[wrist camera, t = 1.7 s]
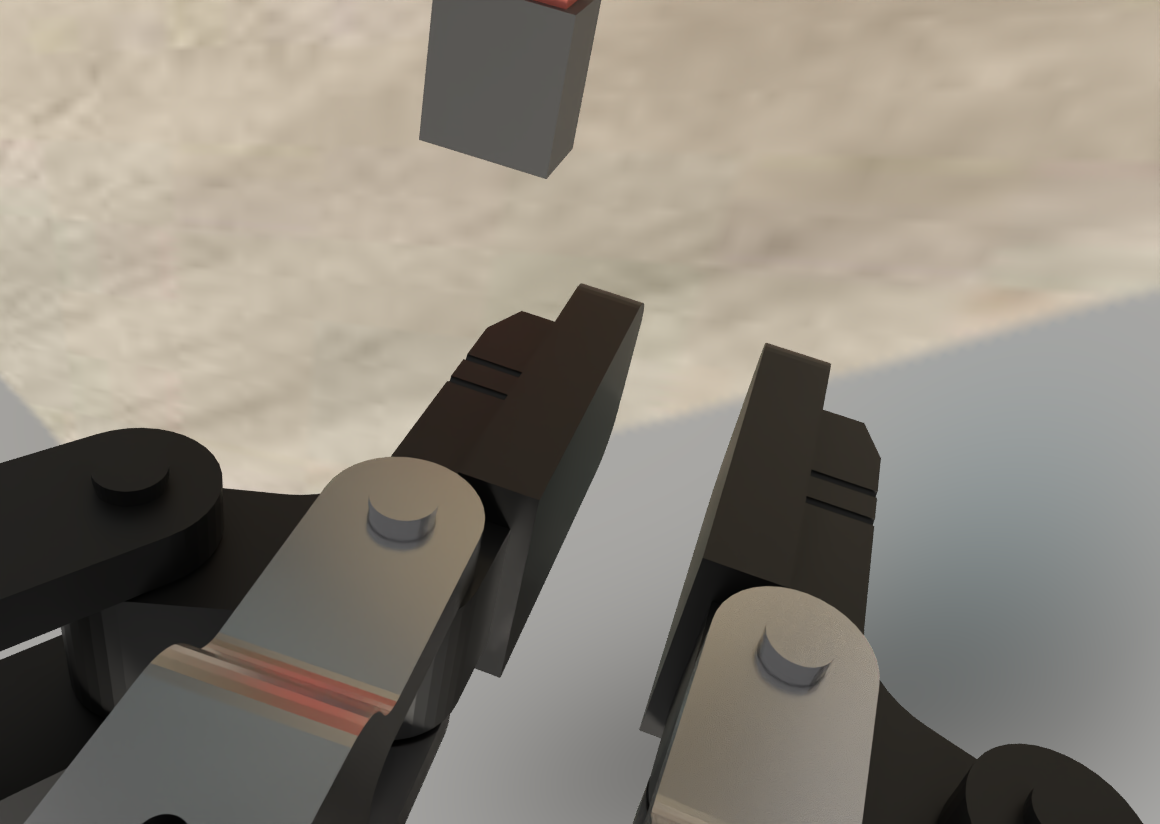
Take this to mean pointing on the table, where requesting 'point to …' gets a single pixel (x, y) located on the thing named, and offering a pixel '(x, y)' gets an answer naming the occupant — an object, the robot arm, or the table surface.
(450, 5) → the lever
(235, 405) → the table surface
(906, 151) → the table surface
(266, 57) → the table surface
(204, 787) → the robot arm
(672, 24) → the table surface
